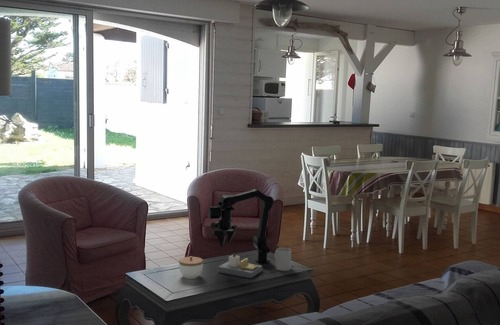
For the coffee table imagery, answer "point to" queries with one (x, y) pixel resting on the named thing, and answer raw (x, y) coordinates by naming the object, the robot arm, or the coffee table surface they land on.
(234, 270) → the socket block
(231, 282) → the coffee table surface
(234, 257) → the plug
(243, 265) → the tan piece
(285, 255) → the mug
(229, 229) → the robot arm
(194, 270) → the lidded bowl
